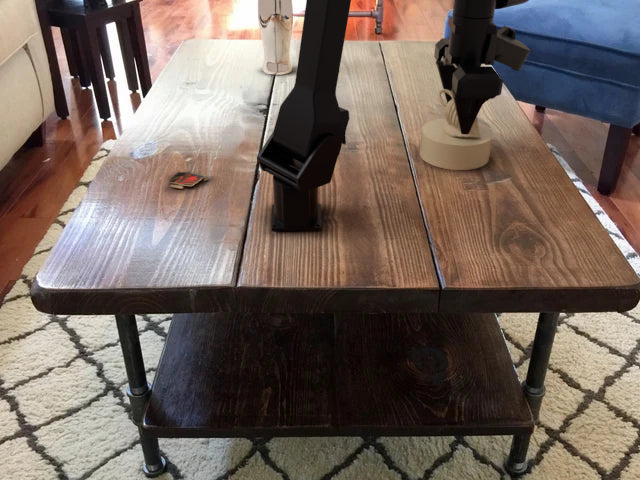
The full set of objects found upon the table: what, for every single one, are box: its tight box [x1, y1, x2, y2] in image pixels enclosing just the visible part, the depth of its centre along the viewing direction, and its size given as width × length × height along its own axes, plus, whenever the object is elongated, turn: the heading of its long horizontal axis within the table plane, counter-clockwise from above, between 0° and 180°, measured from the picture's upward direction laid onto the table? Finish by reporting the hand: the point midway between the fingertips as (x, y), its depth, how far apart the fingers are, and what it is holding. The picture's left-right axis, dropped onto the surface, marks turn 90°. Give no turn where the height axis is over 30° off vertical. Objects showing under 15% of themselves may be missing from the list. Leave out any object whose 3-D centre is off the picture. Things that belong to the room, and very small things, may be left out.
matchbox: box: [168, 171, 209, 190], centre depth 93 cm, size 5×5×1 cm
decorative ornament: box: [437, 88, 482, 138], centre depth 98 cm, size 4×8×5 cm, turn 23°
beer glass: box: [257, 0, 294, 76], centre depth 130 cm, size 7×7×15 cm
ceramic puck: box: [418, 117, 494, 171], centre depth 101 cm, size 11×11×4 cm
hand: (458, 122), depth 99 cm, fingers open, 9 cm apart
